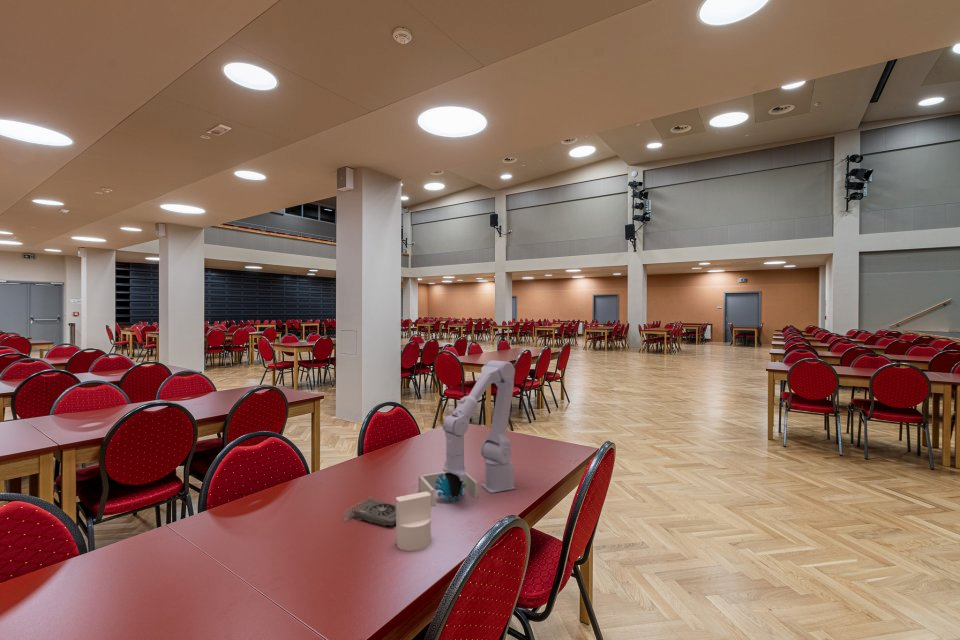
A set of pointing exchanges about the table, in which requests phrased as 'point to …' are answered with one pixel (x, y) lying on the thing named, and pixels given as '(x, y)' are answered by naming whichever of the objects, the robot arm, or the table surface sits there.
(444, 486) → the blue virus model
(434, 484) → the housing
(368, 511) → the graphics card
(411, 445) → the table surface
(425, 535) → the cylinder with rectangular tab
